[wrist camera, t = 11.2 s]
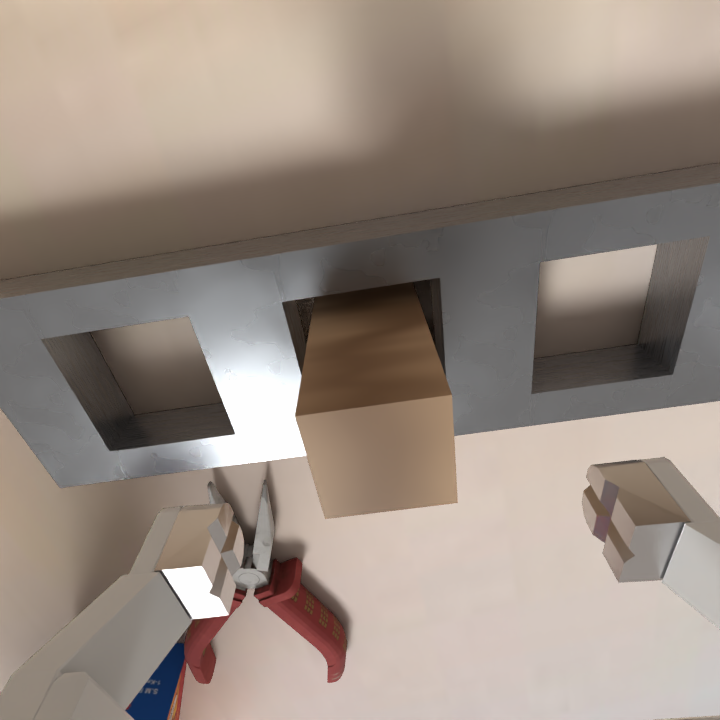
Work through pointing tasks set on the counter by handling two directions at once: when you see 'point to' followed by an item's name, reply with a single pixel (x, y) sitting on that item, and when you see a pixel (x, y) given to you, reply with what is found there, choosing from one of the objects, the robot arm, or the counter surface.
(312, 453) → the square peg
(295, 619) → the pliers
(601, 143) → the counter surface
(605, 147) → the counter surface
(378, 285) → the grey peg hole board
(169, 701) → the pasta box
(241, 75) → the counter surface
